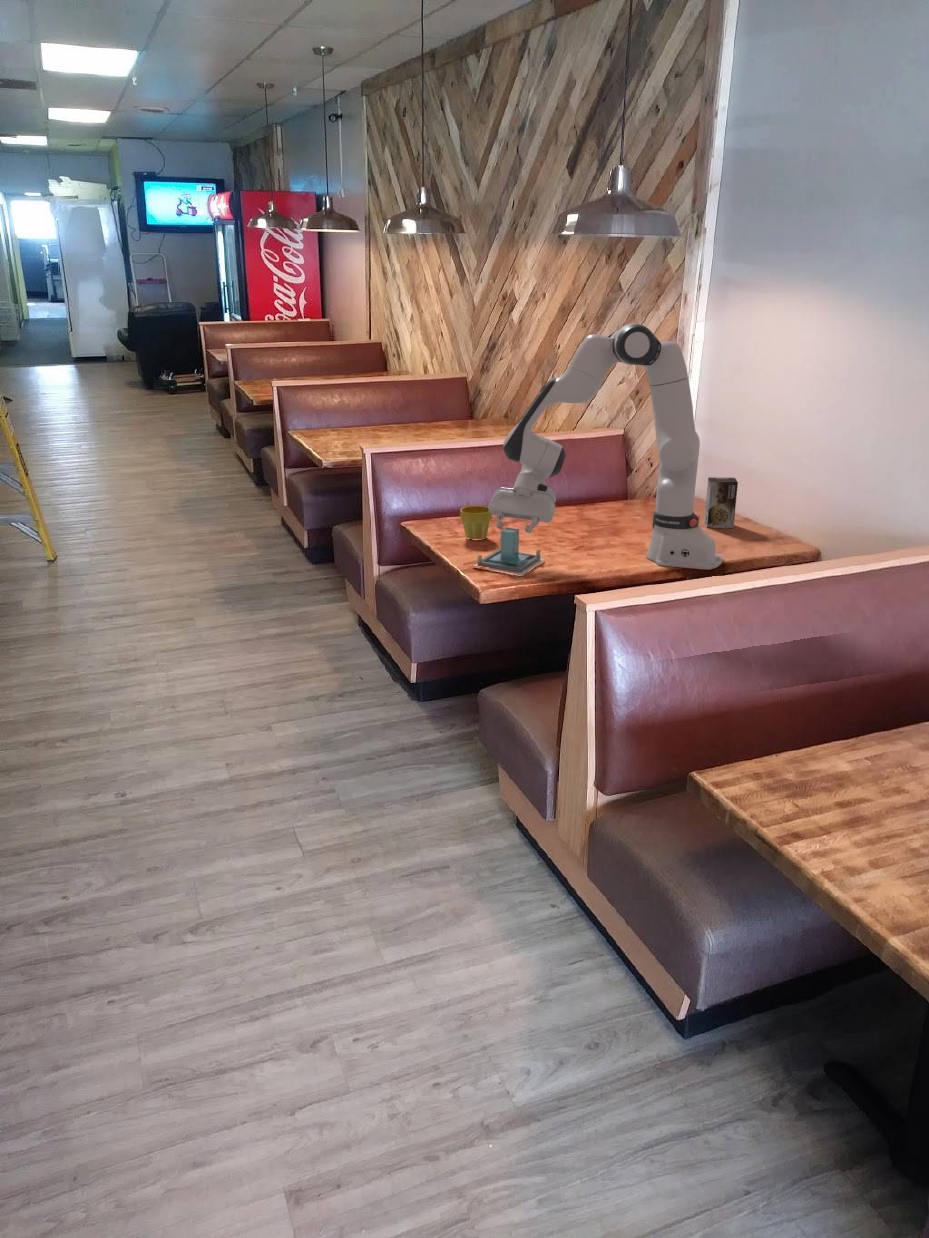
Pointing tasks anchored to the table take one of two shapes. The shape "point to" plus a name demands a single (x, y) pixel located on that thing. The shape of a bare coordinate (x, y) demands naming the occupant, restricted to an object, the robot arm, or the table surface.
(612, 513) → the table surface
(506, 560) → the teal plate with post
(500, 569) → the base
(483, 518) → the plant pot
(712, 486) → the coffee box
